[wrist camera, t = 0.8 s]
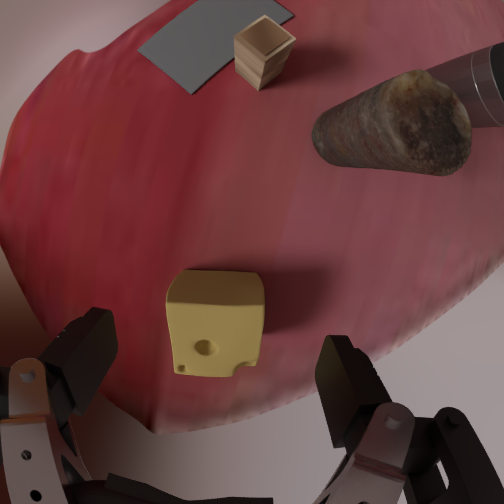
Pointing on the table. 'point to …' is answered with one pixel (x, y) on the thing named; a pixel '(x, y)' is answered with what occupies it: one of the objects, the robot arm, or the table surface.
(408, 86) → the brown rough cylinder
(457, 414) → the robot arm
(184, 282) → the cheese
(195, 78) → the mat
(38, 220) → the table surface
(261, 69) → the block
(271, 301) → the table surface
